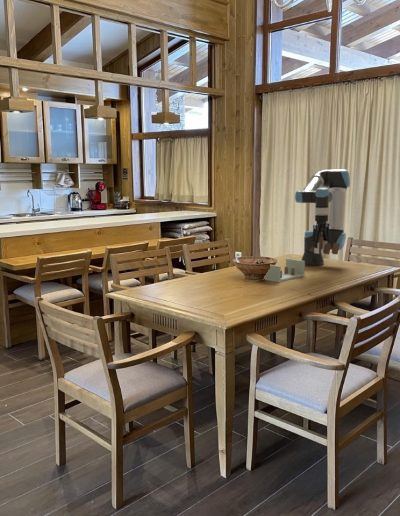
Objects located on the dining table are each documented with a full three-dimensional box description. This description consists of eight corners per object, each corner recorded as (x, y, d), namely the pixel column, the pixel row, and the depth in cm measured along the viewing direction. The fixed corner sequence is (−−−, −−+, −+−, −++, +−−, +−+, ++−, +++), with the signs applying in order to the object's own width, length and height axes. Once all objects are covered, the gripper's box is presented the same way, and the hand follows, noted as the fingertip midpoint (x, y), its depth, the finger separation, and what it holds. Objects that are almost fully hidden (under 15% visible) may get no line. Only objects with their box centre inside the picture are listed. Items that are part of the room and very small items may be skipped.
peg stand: (287, 272, 308) (287, 258, 306) (304, 275, 298) (304, 260, 297) (261, 278, 291) (261, 263, 290) (278, 282, 282) (278, 266, 280)
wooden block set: (337, 258, 295) (341, 241, 296) (334, 254, 288) (337, 237, 289) (309, 254, 304) (312, 238, 306) (305, 250, 297) (308, 234, 298)
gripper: (325, 212, 301) (324, 249, 305) (306, 215, 287) (305, 253, 292) (336, 213, 296) (335, 250, 300) (316, 216, 282) (316, 255, 286)
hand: (320, 252), depth 296 cm, fingers closed on wooden block set, 8 cm apart
